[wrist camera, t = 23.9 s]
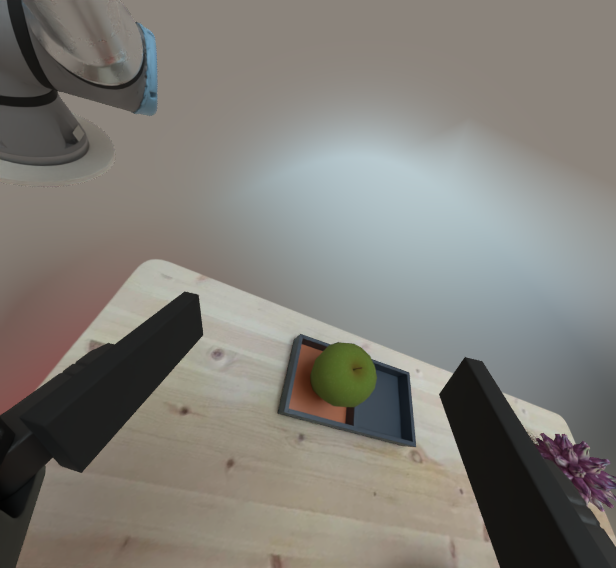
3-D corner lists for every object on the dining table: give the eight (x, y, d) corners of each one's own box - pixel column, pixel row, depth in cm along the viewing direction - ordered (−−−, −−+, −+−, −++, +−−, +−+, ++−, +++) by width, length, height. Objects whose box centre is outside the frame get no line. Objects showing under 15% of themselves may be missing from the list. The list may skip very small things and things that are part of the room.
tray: (277, 413, 33) (283, 412, 31) (294, 339, 40) (300, 333, 38) (403, 446, 38) (416, 447, 36) (398, 375, 45) (409, 372, 43)
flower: (527, 434, 54) (576, 502, 46) (501, 444, 48) (552, 523, 41) (584, 420, 46) (654, 498, 39) (561, 430, 41) (637, 523, 33)
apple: (341, 358, 41) (382, 338, 32) (346, 411, 37) (395, 405, 28) (296, 353, 38) (328, 330, 29) (295, 411, 34) (333, 403, 25)
